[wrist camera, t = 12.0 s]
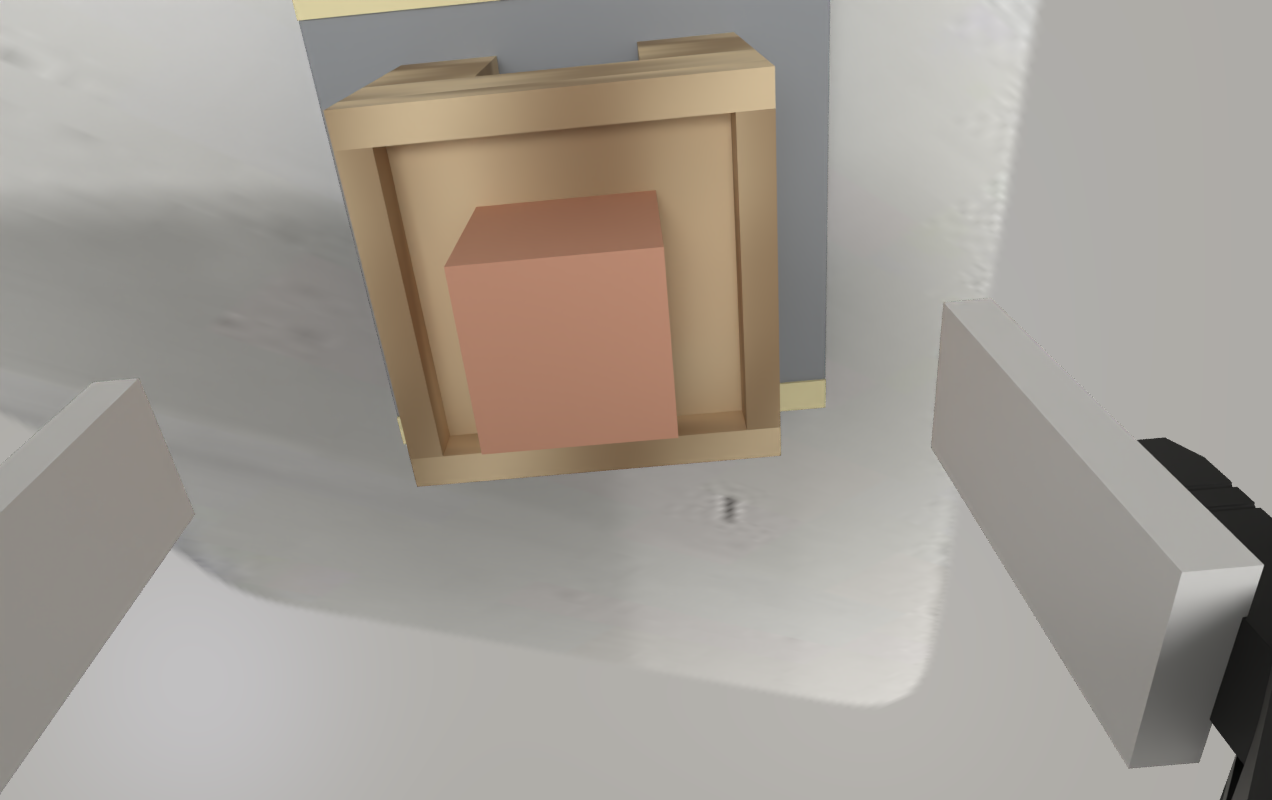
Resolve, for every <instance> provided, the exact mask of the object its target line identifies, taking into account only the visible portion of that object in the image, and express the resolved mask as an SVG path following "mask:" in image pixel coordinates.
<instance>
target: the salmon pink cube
mask: <svg viewBox="0 0 1272 800" xmlns="http://www.w3.org/2000/svg"><path fill="white" fill-rule="evenodd" d="M444 270H445V275H446V280H447V285H448V290H449V295H450V300H451V305H452V310H453V315H454V320H455V325H456V329H457V334H458V339H459V344H460V349H461V354H462V359H463V364H464V369H465V374H466V379H467V384H468V389H469V394H470V399H471V404H472V409H473V413H474V418H475V423H476V428H477V433H478V438H479V443H480V448H481V453H482V455H483V454H495V453H506V452H518V451H530V450H542V449H553V448H565V447H577V446H588V445H600V444H612V443H624V442H635V441H647V440H659V439H670V438H679V437H678V424H677V411H676V398H675V385H674V372H673V360H672V347H671V334H670V321H669V308H668V295H667V282H666V269H665V256H664V245H663V238H662V231H661V224H660V216H659V209H658V202H657V195H656V190H652V191H641V192H630V193H620V194H609V195H598V196H588V197H577V198H566V199H555V200H545V201H534V202H523V203H513V204H502V205H491V206H480V207H476V208H475V210H474V212H473V214H472V216H471V217H470V219H469V221H468V223H467V225H466V227H465V229H464V230H463V232H462V234H461V236H460V238H459V240H458V242H457V243H456V245H455V247H454V249H453V251H452V253H451V255H450V257H449V258H448V260H447V262H446V264H445V266H444Z"/></svg>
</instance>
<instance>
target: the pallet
mask: <svg viewBox="0 0 1272 800" xmlns="http://www.w3.org/2000/svg"><path fill="white" fill-rule="evenodd" d="M637 47H638V59H639V60H638V61H628V62H618V63H607V64H597V65H587V66H577V67H567V68H557V69H547V70H537V71H527V72H516V73H506V74H499V68H498V62H497V56H489V57H479V58H469V59H459V60H449V61H439V62H429V63H419V64H409V65H401V66H399V67H397V68H396V69H394V70H392V71H390V72H389V73H387V74H385V75H384V76H382V77H380V78H378V79H377V80H375V81H373V82H372V83H370V84H368V85H366V86H365V87H363V88H361V89H359V90H358V91H356V92H354V93H353V94H351V95H349V96H347V97H346V98H344V99H342V100H341V101H339V102H337V103H335V104H334V105H332V106H330V107H329V108H327V109H325V110H323V112H324V116H325V120H326V124H327V128H328V132H329V136H330V140H331V144H332V148H333V152H334V156H335V160H336V164H337V168H338V172H339V176H340V180H341V184H342V188H343V192H344V196H345V200H346V204H347V208H348V212H349V216H350V220H351V224H352V228H353V232H354V236H355V240H356V244H357V248H358V252H359V256H360V260H361V264H362V268H363V272H364V276H365V280H366V284H367V288H368V292H369V296H370V300H371V304H372V308H373V312H374V316H375V320H376V324H377V328H378V332H379V336H380V340H381V344H382V348H383V352H384V356H385V360H386V364H387V368H388V372H389V376H390V380H391V384H392V388H393V392H394V396H395V400H396V404H397V408H398V412H399V416H400V420H401V424H402V428H403V432H404V436H405V440H406V444H407V448H408V452H409V456H410V460H411V464H412V468H413V472H414V476H415V480H416V484H417V487H419V486H431V485H443V484H454V483H466V482H478V481H489V480H501V479H513V478H524V477H536V476H548V475H559V474H571V473H583V472H595V471H606V470H618V469H630V468H641V467H653V466H665V465H676V464H688V463H700V462H711V461H723V460H735V459H746V458H758V457H770V456H781V431H780V365H779V299H778V233H777V167H776V101H775V66H774V65H773V64H772V63H771V62H769V61H768V60H767V59H766V58H765V57H763V56H762V55H761V54H760V53H758V52H757V51H756V50H755V49H754V48H752V47H751V46H750V45H749V44H748V43H746V42H745V41H744V40H743V39H742V38H740V37H739V36H738V35H737V34H736V33H734V32H730V33H720V34H710V35H700V36H690V37H680V38H670V39H660V40H650V41H640V42H637ZM652 190H656V195H657V202H658V209H659V216H660V224H661V231H662V238H663V245H664V256H665V269H666V282H667V295H668V308H669V321H670V334H671V347H672V360H673V372H674V385H675V398H676V411H677V424H678V437H679V438H670V439H659V440H647V441H635V442H624V443H612V444H600V445H588V446H577V447H565V448H553V449H542V450H530V451H518V452H506V453H495V454H483V455H482V453H481V448H480V443H479V438H478V433H477V428H476V423H475V418H474V413H473V409H472V404H471V399H470V394H469V389H468V384H467V379H466V374H465V369H464V364H463V359H462V354H461V349H460V344H459V339H458V334H457V329H456V325H455V320H454V315H453V310H452V305H451V300H450V295H449V290H448V285H447V280H446V275H445V270H444V266H445V264H446V262H447V260H448V258H449V257H450V255H451V253H452V251H453V249H454V247H455V245H456V243H457V242H458V240H459V238H460V236H461V234H462V232H463V230H464V229H465V227H466V225H467V223H468V221H469V219H470V217H471V216H472V214H473V212H474V210H475V208H476V207H480V206H491V205H502V204H513V203H523V202H534V201H545V200H555V199H566V198H577V197H588V196H598V195H609V194H620V193H630V192H641V191H652Z"/></svg>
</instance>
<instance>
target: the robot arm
mask: <svg viewBox="0 0 1272 800" xmlns="http://www.w3.org/2000/svg"><path fill="white" fill-rule="evenodd" d="M931 448H932V450H933V451H934V453H935V455H936V456H937V458H938V460H939V461H940V463H941V464H942V466H943V468H944V469H945V471H946V473H947V474H948V476H949V477H950V479H951V481H952V482H953V484H954V486H955V487H956V489H957V491H958V492H959V494H960V495H961V497H962V499H963V500H964V502H965V503H966V505H967V507H968V508H969V510H970V511H971V513H972V515H973V517H974V518H975V520H976V521H977V523H978V524H979V526H980V528H981V530H982V531H983V533H984V534H985V536H986V538H987V539H988V541H989V543H990V544H991V546H992V547H993V549H994V551H995V552H996V554H997V556H998V557H999V559H1000V560H1001V562H1002V564H1003V565H1004V567H1005V569H1006V570H1007V572H1008V573H1009V575H1010V577H1011V578H1012V580H1013V582H1014V583H1015V585H1016V586H1017V588H1018V590H1019V591H1020V593H1021V594H1022V596H1023V598H1024V599H1025V601H1026V603H1027V604H1028V606H1029V608H1030V609H1031V611H1032V612H1033V614H1034V616H1035V617H1036V619H1037V621H1038V622H1039V624H1040V625H1041V627H1042V628H1043V630H1044V632H1045V634H1046V635H1047V637H1048V638H1049V640H1050V642H1051V643H1052V645H1053V646H1054V648H1055V650H1056V651H1057V653H1058V655H1059V656H1060V658H1061V659H1062V661H1063V663H1064V664H1065V666H1066V668H1067V669H1068V671H1069V672H1070V674H1071V676H1072V677H1073V679H1074V681H1075V682H1076V684H1077V686H1078V687H1079V689H1080V690H1081V692H1082V694H1083V695H1084V697H1085V699H1086V700H1087V702H1088V703H1089V705H1090V707H1091V708H1092V710H1093V712H1094V713H1095V715H1096V716H1097V718H1098V720H1099V721H1100V723H1101V725H1102V726H1103V728H1104V729H1105V731H1106V732H1107V734H1108V736H1109V737H1110V739H1111V740H1112V742H1113V744H1114V746H1115V747H1116V749H1117V751H1118V752H1119V754H1120V755H1121V757H1122V759H1123V760H1124V762H1125V763H1126V765H1127V767H1128V768H1141V767H1152V766H1165V765H1175V764H1189V763H1199V762H1200V758H1201V755H1202V752H1203V750H1204V747H1205V743H1206V740H1207V737H1208V734H1209V731H1210V728H1211V725H1212V723H1213V725H1214V726H1215V727H1216V729H1217V730H1218V731H1219V733H1220V734H1221V735H1222V737H1223V738H1224V739H1225V741H1226V742H1227V743H1228V744H1229V746H1230V747H1231V749H1232V750H1233V751H1234V753H1235V754H1236V757H1235V759H1234V762H1233V765H1232V768H1231V770H1230V773H1229V776H1228V779H1227V782H1226V785H1225V787H1224V790H1223V793H1222V796H1221V798H1220V800H1272V518H1271V517H1270V516H1269V515H1268V514H1267V513H1266V512H1265V511H1264V510H1262V509H1261V508H1255V505H1254V502H1253V501H1252V500H1251V499H1250V498H1249V497H1248V496H1247V495H1246V494H1245V493H1243V492H1242V491H1241V490H1240V489H1239V488H1238V487H1232V482H1231V481H1230V480H1229V479H1228V478H1227V477H1226V476H1225V475H1223V474H1222V473H1221V472H1220V471H1219V470H1218V469H1217V468H1215V467H1214V466H1213V465H1212V464H1211V463H1210V462H1209V461H1208V460H1207V459H1206V458H1204V457H1203V456H1201V455H1198V454H1197V453H1195V452H1193V451H1190V450H1188V449H1186V448H1184V447H1182V446H1181V445H1178V444H1176V443H1175V442H1173V441H1171V440H1169V439H1167V438H1154V439H1143V440H1136V439H1135V438H1134V437H1133V436H1132V435H1131V434H1130V433H1129V432H1128V431H1127V430H1126V429H1125V428H1124V427H1123V426H1122V425H1121V424H1120V423H1119V422H1118V421H1116V419H1115V418H1114V417H1113V416H1112V415H1110V414H1109V413H1108V412H1107V411H1106V410H1105V409H1104V408H1103V407H1102V406H1101V405H1100V404H1099V403H1098V402H1097V401H1096V400H1095V399H1094V398H1093V397H1092V396H1091V395H1090V394H1089V393H1088V392H1087V391H1086V390H1085V389H1084V388H1083V387H1082V386H1081V385H1080V384H1079V383H1078V382H1077V381H1076V380H1075V379H1074V378H1073V377H1072V376H1071V375H1070V374H1069V373H1068V372H1066V370H1065V369H1064V368H1063V367H1062V366H1060V365H1059V364H1058V363H1057V362H1056V361H1055V360H1054V359H1053V358H1052V357H1051V356H1050V355H1049V354H1048V353H1047V352H1046V351H1045V350H1044V349H1043V348H1042V347H1041V346H1040V345H1039V344H1038V343H1037V342H1036V341H1035V340H1034V339H1033V338H1032V337H1031V336H1030V335H1029V334H1028V333H1027V332H1026V331H1025V330H1024V329H1023V328H1022V327H1021V326H1020V325H1019V324H1018V323H1016V321H1015V320H1013V319H1012V318H1011V317H1010V316H1009V315H1008V314H1007V313H1006V312H1005V311H1004V310H1003V309H1002V308H1001V307H1000V306H999V305H998V304H997V303H996V302H995V301H994V300H993V299H992V298H983V299H973V300H962V301H951V302H944V303H943V314H942V326H941V337H940V349H939V360H938V372H937V384H936V395H935V407H934V418H933V430H932V441H931ZM194 515H195V513H194V511H193V508H192V506H191V503H190V501H189V498H188V496H187V493H186V491H185V489H184V486H183V484H182V481H181V479H180V476H179V474H178V472H177V469H176V467H175V464H174V462H173V459H172V457H171V455H170V452H169V450H168V447H167V445H166V442H165V440H164V438H163V435H162V433H161V430H160V428H159V425H158V423H157V421H156V418H155V416H154V413H153V411H152V408H151V406H150V404H149V401H148V399H147V396H146V394H145V391H144V389H143V387H142V384H141V382H140V379H139V378H133V379H122V380H112V381H101V382H93V383H91V384H90V385H89V386H88V387H87V388H86V389H85V390H84V391H82V392H81V393H80V394H79V395H78V396H77V397H76V398H75V399H74V400H72V401H71V402H70V403H69V404H68V405H67V406H66V407H65V408H63V409H62V410H61V411H60V412H59V413H58V414H57V415H56V416H55V417H53V418H52V419H51V420H50V421H49V422H48V423H47V424H46V425H44V426H43V427H42V428H41V429H40V430H39V431H38V432H37V433H35V434H34V435H33V436H32V437H31V438H30V439H29V440H28V441H27V442H25V443H24V444H23V445H22V446H21V447H20V448H19V449H18V450H17V451H16V452H14V453H13V454H12V455H11V456H10V457H9V458H7V459H6V460H5V461H4V462H3V463H2V464H1V465H0V794H1V792H2V791H3V789H4V788H5V786H6V785H7V783H8V782H9V781H10V779H11V778H12V776H13V775H14V773H15V772H16V771H17V769H18V768H19V766H20V765H21V763H22V762H23V761H24V759H25V758H26V756H27V755H28V753H29V752H30V750H31V749H32V748H33V746H34V745H35V743H36V742H37V740H38V739H39V738H40V736H41V735H42V733H43V732H44V730H45V729H46V728H47V726H48V725H49V723H50V722H51V720H52V719H53V717H54V716H55V714H56V713H57V712H58V710H59V709H60V707H61V706H62V705H63V703H64V702H65V700H66V699H67V697H68V696H69V695H70V693H71V692H72V690H73V688H74V687H75V686H76V684H77V683H78V682H79V680H80V679H81V677H82V676H83V674H84V673H85V672H86V670H87V669H88V667H89V666H90V664H91V663H92V661H93V660H94V659H95V657H96V656H97V654H98V653H99V652H100V650H101V649H102V647H103V646H104V644H105V643H106V641H107V640H108V639H109V637H110V636H111V634H112V633H113V631H114V630H115V629H116V627H117V626H118V624H119V623H120V621H121V620H122V619H123V617H124V616H125V614H126V613H127V611H128V610H129V608H130V607H131V606H132V604H133V602H134V601H135V600H136V598H137V597H138V596H139V594H140V593H141V591H142V590H143V588H144V587H145V585H146V584H147V583H148V581H149V580H150V578H151V577H152V575H153V574H154V573H155V571H156V570H157V568H158V567H159V565H160V564H161V563H162V561H163V560H164V558H165V557H166V555H167V554H168V552H169V551H170V550H171V548H172V547H173V545H174V544H175V542H176V541H177V540H178V538H179V537H180V535H181V534H182V532H183V531H184V530H185V528H186V527H187V525H188V524H189V522H190V521H191V520H192V518H193V517H194Z"/></svg>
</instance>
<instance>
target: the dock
mask: <svg viewBox="0 0 1272 800" xmlns="http://www.w3.org/2000/svg"><path fill="white" fill-rule="evenodd" d="M292 1H293V5H294V9H295V13H296V17H297V21H299V24H300V28H301V32H302V36H303V40H304V44H305V48H306V52H307V56H308V60H309V64H310V68H311V72H312V76H313V80H314V84H315V88H316V92H317V96H318V100H319V104H320V108H321V112H322V116H323V120H324V124H325V128H326V132H327V136H328V140H329V144H330V148H331V152H332V156H333V160H334V164H335V168H336V172H337V176H338V180H339V184H340V188H341V192H342V196H343V200H344V204H345V208H346V212H347V216H348V220H349V224H350V228H351V232H352V236H353V240H354V244H355V248H356V252H357V256H358V260H359V264H360V268H361V272H362V276H363V280H364V284H365V288H366V292H367V296H368V300H369V304H370V308H371V312H372V316H373V320H374V324H375V328H376V332H377V336H378V340H379V344H380V348H381V352H382V356H383V360H384V364H385V368H386V372H387V376H388V380H389V384H390V388H391V392H392V396H393V400H394V404H395V408H396V412H397V416H398V417H397V420H398V424H399V428H400V432H401V436H402V440H403V444H406V440H405V436H404V432H403V428H402V424H401V420H400V416H399V412H398V408H397V404H396V400H395V396H394V392H393V388H392V384H391V380H390V376H389V372H388V368H387V364H386V360H385V356H384V352H383V348H382V344H381V340H380V336H379V332H378V328H377V324H376V320H375V316H374V312H373V308H372V304H371V300H370V296H369V292H368V288H367V284H366V280H365V276H364V272H363V268H362V264H361V260H360V256H359V252H358V248H357V244H356V240H355V236H354V232H353V228H352V224H351V220H350V216H349V212H348V208H347V204H346V200H345V196H344V192H343V188H342V184H341V180H340V176H339V172H338V168H337V164H336V160H335V156H334V152H333V148H332V144H331V140H330V136H329V132H328V128H327V124H326V120H325V116H324V112H323V110H325V109H327V108H329V107H330V106H332V105H334V104H335V103H337V102H339V101H341V100H342V99H344V98H346V97H347V96H349V95H351V94H353V93H354V92H356V91H358V90H359V89H361V88H363V87H365V86H366V85H368V84H370V83H372V82H373V81H375V80H377V79H378V78H380V77H382V76H384V75H385V74H387V73H389V72H390V71H392V70H394V69H396V68H397V67H399V66H401V65H409V64H419V63H429V62H439V61H449V60H459V59H469V58H479V57H489V56H497V62H498V68H499V74H506V73H516V72H527V71H537V70H547V69H557V68H567V67H577V66H587V65H597V64H607V63H618V62H628V61H638V60H639V59H638V47H637V42H640V41H650V40H660V39H670V38H680V37H690V36H700V35H710V34H720V33H730V32H734V33H736V34H737V35H738V36H739V37H740V38H742V39H743V40H744V41H745V42H746V43H748V44H749V45H750V46H751V47H752V48H754V49H755V50H756V51H757V52H758V53H760V54H761V55H762V56H763V57H765V58H766V59H767V60H768V61H769V62H771V63H772V64H773V65H774V66H775V101H776V167H777V233H778V299H779V365H780V411H790V410H802V409H814V408H825V399H826V380H825V348H826V270H827V193H828V115H829V38H830V0H292Z"/></svg>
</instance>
